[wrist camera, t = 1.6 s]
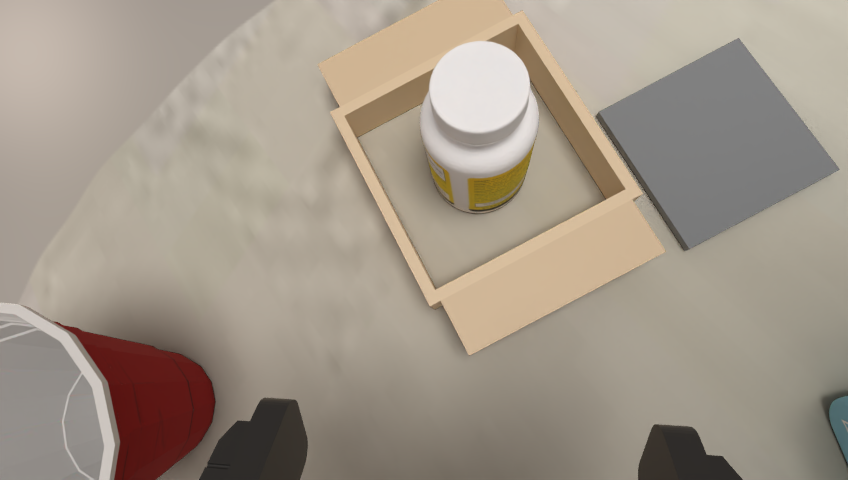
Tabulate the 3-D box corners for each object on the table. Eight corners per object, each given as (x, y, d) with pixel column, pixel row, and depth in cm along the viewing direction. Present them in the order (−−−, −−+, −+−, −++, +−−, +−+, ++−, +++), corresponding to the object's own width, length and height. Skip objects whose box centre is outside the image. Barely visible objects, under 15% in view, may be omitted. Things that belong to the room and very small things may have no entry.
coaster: (733, 44, 29) (738, 38, 28) (831, 172, 27) (839, 169, 26) (596, 116, 29) (598, 111, 28) (684, 250, 27) (689, 248, 26)
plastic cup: (117, 550, 27) (-163, 718, 15) (56, 369, 29) (-228, 391, 17) (292, 454, 27) (149, 545, 15) (217, 280, 29) (42, 242, 17)
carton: (494, 4, 31) (495, -31, 28) (655, 255, 27) (677, 245, 24) (324, 94, 31) (308, 69, 28) (460, 358, 27) (458, 361, 24)
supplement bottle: (539, 145, 29) (571, 50, 19) (503, 229, 28) (517, 173, 18) (454, 113, 30) (444, 7, 20) (417, 194, 29) (388, 122, 19)
